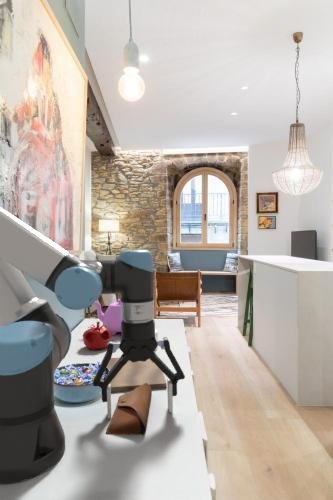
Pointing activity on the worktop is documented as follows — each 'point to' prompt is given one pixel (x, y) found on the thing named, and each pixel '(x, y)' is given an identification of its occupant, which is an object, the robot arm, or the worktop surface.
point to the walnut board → (136, 375)
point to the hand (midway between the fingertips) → (140, 412)
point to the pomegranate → (96, 337)
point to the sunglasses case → (131, 412)
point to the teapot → (110, 317)
